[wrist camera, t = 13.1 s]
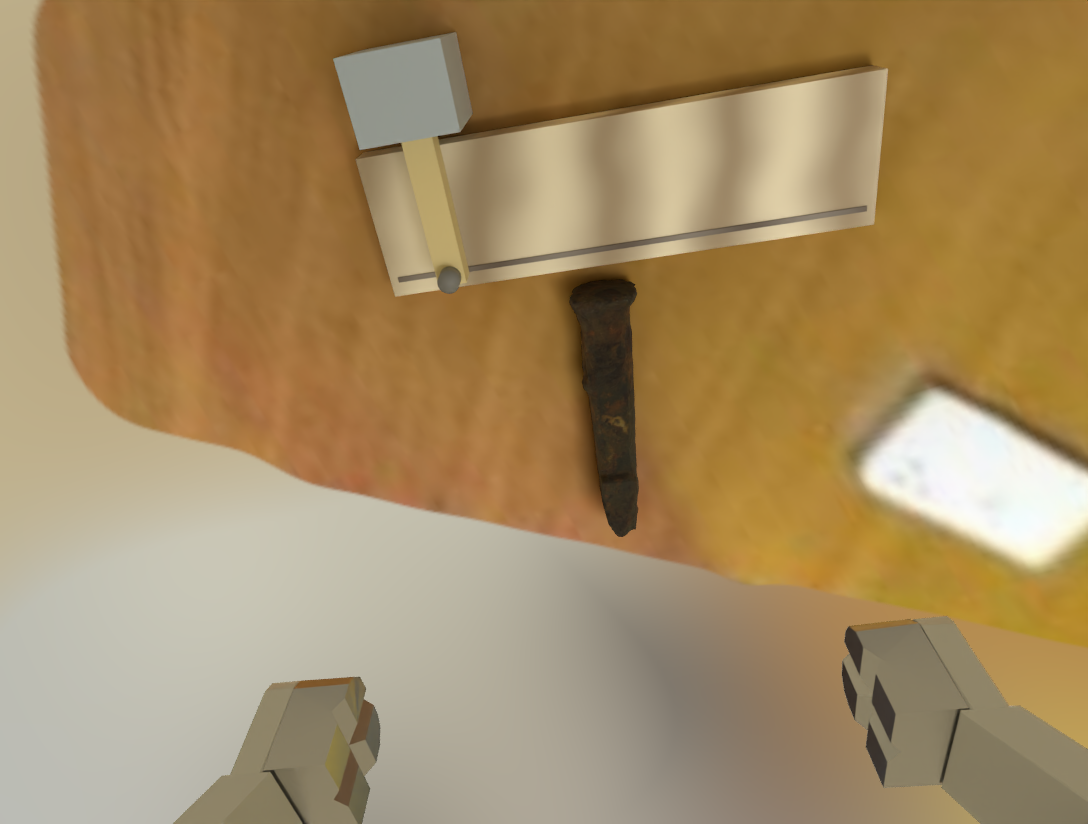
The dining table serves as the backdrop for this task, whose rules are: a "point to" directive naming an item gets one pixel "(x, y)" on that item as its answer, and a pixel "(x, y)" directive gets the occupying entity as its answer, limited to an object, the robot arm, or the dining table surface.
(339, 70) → the grey mallet
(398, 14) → the dining table surface
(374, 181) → the board
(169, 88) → the dining table surface
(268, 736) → the robot arm
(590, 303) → the rusty railroad spike
